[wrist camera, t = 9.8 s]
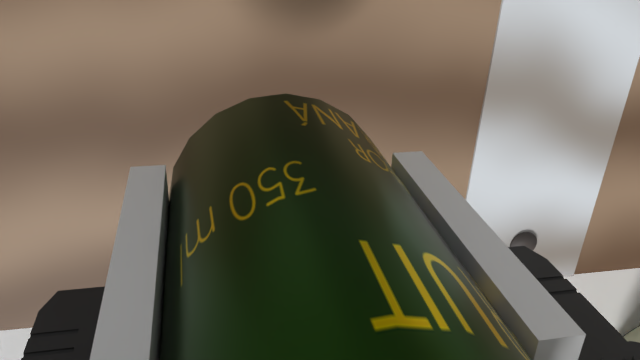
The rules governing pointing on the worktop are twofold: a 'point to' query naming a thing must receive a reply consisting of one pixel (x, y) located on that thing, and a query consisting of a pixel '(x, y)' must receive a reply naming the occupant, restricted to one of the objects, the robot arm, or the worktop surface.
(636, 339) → the reusable coffee cup
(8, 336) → the worktop surface
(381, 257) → the beer can
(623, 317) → the worktop surface
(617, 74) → the walnut board
